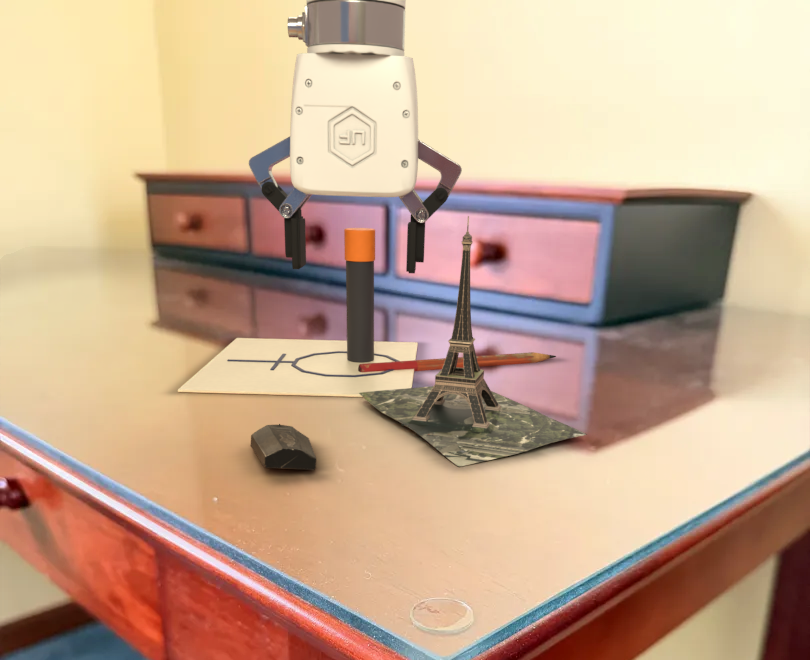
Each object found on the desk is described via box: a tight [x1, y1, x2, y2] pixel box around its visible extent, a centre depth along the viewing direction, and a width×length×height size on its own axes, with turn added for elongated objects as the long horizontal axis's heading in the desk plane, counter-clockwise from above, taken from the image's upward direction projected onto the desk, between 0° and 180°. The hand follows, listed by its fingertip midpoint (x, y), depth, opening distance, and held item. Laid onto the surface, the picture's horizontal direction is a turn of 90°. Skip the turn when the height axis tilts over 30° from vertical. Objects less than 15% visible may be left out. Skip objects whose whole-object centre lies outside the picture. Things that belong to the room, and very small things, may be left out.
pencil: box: [358, 351, 557, 372], centre depth 72 cm, size 19×1×1 cm, turn 110°
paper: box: [177, 337, 419, 398], centre depth 72 cm, size 18×20×1 cm
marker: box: [343, 227, 376, 363], centre depth 71 cm, size 3×3×11 cm
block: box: [250, 423, 317, 471], centre depth 49 cm, size 4×6×2 cm, turn 17°
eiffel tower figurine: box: [359, 215, 588, 468], centre depth 54 cm, size 15×10×13 cm
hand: (355, 269), depth 70 cm, fingers open, 9 cm apart
